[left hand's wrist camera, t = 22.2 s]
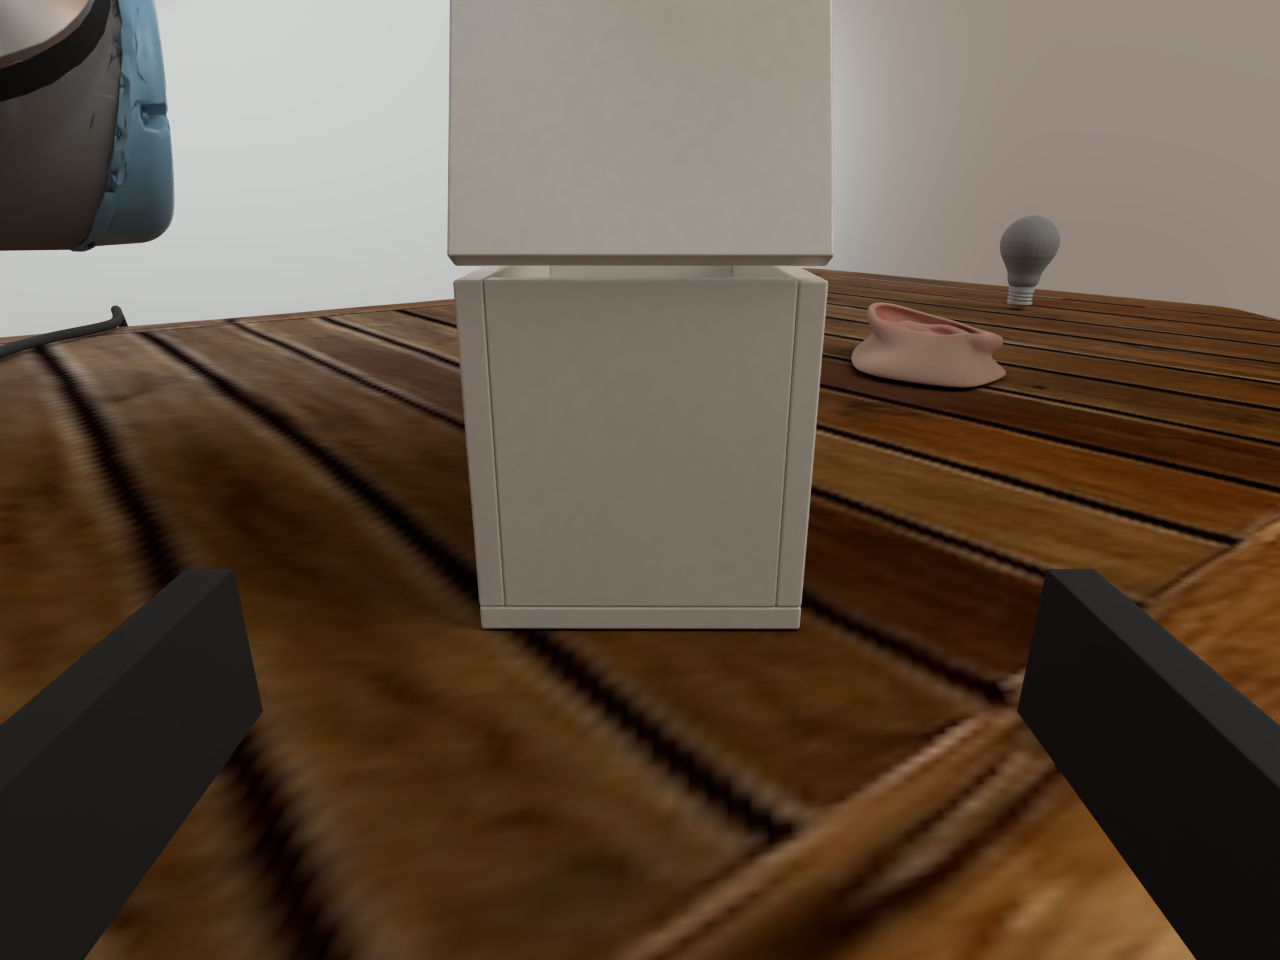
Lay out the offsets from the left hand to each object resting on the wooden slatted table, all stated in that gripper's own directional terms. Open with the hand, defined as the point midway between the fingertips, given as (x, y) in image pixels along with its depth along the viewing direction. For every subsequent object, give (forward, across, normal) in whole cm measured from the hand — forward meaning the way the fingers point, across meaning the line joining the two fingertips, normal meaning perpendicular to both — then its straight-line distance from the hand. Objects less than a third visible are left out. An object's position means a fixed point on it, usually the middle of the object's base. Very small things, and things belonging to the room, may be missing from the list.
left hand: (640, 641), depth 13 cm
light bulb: (+80, +44, -6) cm, 91 cm away
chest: (+19, 0, -6) cm, 20 cm away
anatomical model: (+48, +22, -6) cm, 53 cm away
